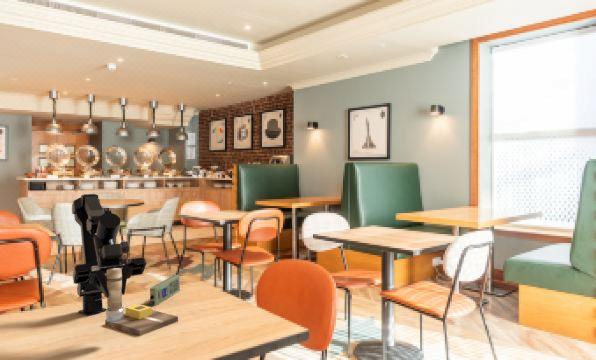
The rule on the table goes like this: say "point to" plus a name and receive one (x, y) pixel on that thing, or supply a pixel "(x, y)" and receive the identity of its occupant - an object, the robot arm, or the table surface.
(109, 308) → the beige ringed cylinder
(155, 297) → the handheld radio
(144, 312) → the block
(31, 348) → the table surface
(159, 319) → the subfloor panel
